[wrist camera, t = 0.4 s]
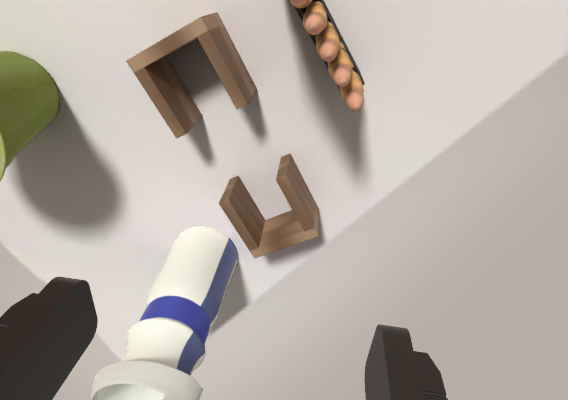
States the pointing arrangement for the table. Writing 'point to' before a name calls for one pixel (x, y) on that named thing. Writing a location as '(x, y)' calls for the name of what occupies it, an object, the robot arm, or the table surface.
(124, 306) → the table surface
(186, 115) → the end cap
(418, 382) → the robot arm
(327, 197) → the table surface
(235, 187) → the end cap
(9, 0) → the table surface
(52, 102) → the plant pot
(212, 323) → the water bottle
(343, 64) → the ammunition clip
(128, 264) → the table surface
